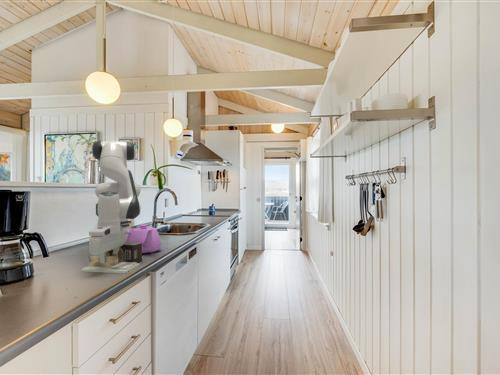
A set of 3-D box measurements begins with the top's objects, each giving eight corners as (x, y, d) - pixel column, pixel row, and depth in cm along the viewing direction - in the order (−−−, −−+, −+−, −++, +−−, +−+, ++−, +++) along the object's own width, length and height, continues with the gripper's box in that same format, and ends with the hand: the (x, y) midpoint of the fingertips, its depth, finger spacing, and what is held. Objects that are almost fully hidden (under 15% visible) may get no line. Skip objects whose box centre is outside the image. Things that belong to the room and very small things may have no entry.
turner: (84, 268, 111) (84, 258, 111) (97, 263, 119) (97, 254, 119) (126, 269, 109) (126, 260, 109) (136, 264, 117) (136, 255, 117)
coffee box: (104, 243, 124) (132, 245, 120) (115, 240, 130) (142, 242, 126) (105, 262, 124) (132, 264, 119) (115, 258, 130) (142, 261, 126)
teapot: (115, 252, 144) (115, 224, 144) (154, 246, 157) (154, 221, 157) (124, 261, 126) (124, 230, 126) (167, 254, 138) (167, 226, 138)
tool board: (98, 264, 121) (98, 262, 121) (139, 265, 119) (139, 263, 119) (80, 271, 110) (80, 269, 110) (125, 273, 108) (125, 270, 108)
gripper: (116, 225, 125) (116, 254, 125) (85, 232, 105) (85, 266, 105) (129, 225, 124) (129, 254, 124) (100, 232, 104) (100, 267, 104)
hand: (109, 260), depth 114 cm, fingers open, 6 cm apart
